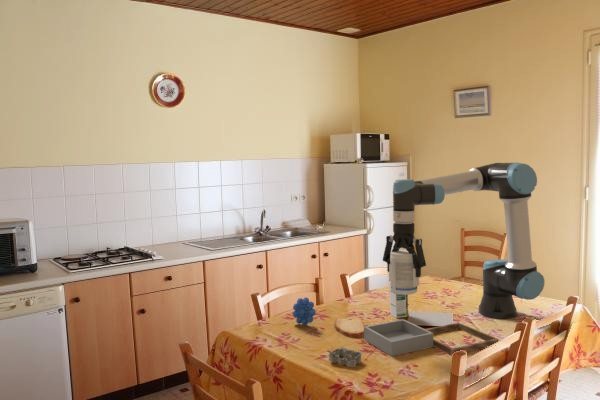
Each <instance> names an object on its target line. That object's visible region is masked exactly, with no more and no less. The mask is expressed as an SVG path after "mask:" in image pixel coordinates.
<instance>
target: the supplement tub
mask: <svg viewBox="0 0 600 400" xmlns="http://www.w3.org/2000/svg"><path fill="white" fill-rule="evenodd" d="M390 254H391V256H390V268H391V291H392V292H393V293H396V294H401V295H414V294H416V293H417V292H418V286H415V287H414V286H413V268H415V266H414V264H413V258H412V254H409V252H408V251H407V250H406V249H399V251H396V252H393V251H392V250H391V253H390ZM414 254H415V253H414ZM416 254H417V253H416Z"/></svg>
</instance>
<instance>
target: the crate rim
mask: <svg viewBox="0 0 600 400" xmlns="http://www.w3.org/2000/svg"><path fill="white" fill-rule="evenodd" d="M424 329H425V328H424ZM457 329H458V330H460V331H463V332H465V333H467V334H470V335H472V336H475V337H477V338H479V339H481V340H484V341H479V342H475V343H470V344H466V345H462V346H459V347H451V346H449V345H446V344H444V343H442V342H440V341H438V340H437V339H435V338H433V347H434V348H437V349H438V350H441V351H443V352H445V353H447V354H449V355H451V356H452V354H453V353H454V352H456V351H460V350H466V351H467V352H466V353H468V352H473V351H478V350H481V349H486V348H485V347H487V346H490V345H492V344H494V343H496V342H498V341H499V338H496V337H494V336H491V335H489V334H487V333H484V332H481V331H480V330H477V329H475V328H473V327H470V326H469V325H465V324H464V323H460V322H454V323H449V324H444V325H439V326H435V327H434V326H433V327H428V328H426V329H425V330H428V331H430V332H432V333H433V335H434V334H439V333H443V332H447V331H448V332H449V331H452V330H457ZM487 348H488V347H487Z"/></svg>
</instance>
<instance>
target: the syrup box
mask: <svg viewBox="0 0 600 400" xmlns="http://www.w3.org/2000/svg"><path fill="white" fill-rule="evenodd" d="M408 298H409V296H408V295H401V294H396V293H393V292H392V291H391V282H389V302H390V303H389V304H390V307H389V311H390V312H389V313H390V316H392V317H393V318H395V319H399V318H407V317H409V304H408V303H409V301H408V300H409V299H408Z"/></svg>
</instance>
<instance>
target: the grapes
mask: <svg viewBox="0 0 600 400" xmlns="http://www.w3.org/2000/svg"><path fill="white" fill-rule="evenodd" d="M314 307H315V303H314V302H313V301H311V300H310V299H309V298H308V297H304V298H302V297H300V298H297V300H296V303H294V304H293V306H292V309H293V310H294V311H293V312H292V317H293V318H296V319H295V320H296V323H297V324H299V325H300V324H302V325H303V326H307V325H308V324H311V323H313V321H314V316H315V315H316V309H314Z"/></svg>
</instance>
